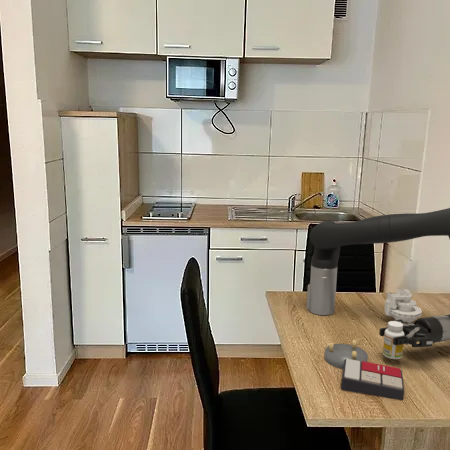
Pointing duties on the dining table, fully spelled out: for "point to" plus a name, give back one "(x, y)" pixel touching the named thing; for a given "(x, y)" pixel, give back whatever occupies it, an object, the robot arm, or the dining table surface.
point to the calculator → (372, 379)
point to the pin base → (344, 354)
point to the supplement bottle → (390, 333)
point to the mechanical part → (402, 306)
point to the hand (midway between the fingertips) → (387, 336)
